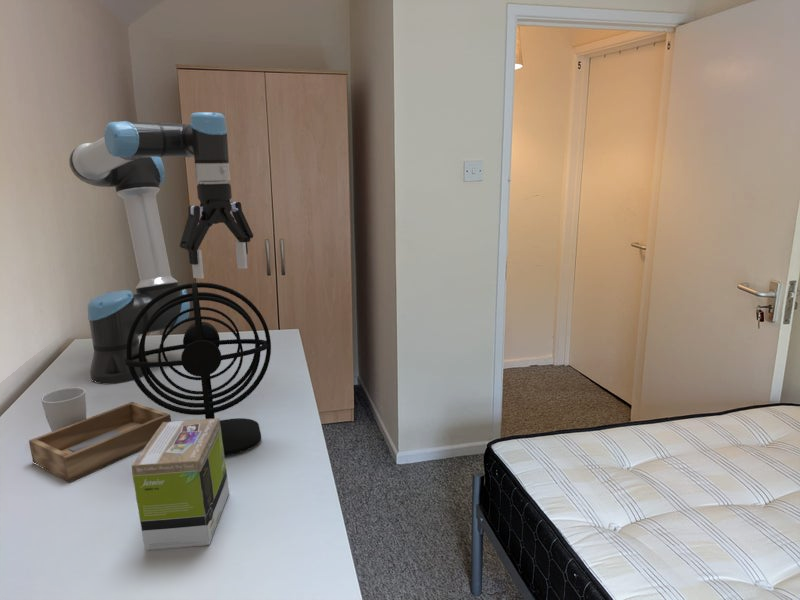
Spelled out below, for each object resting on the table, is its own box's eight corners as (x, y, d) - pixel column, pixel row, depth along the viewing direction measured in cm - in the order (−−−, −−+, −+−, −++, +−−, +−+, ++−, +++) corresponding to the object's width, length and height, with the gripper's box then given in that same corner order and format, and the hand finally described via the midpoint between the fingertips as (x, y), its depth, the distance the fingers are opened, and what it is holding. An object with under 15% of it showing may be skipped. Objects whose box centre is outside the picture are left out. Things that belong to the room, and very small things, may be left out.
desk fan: (136, 478, 108) (110, 296, 100) (144, 438, 124) (123, 279, 116) (282, 452, 116) (268, 282, 108) (272, 418, 132) (259, 268, 124)
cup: (99, 429, 129) (93, 387, 126) (76, 447, 121) (68, 402, 118) (65, 429, 129) (58, 387, 127) (40, 446, 122) (32, 402, 119)
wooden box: (33, 463, 114) (28, 440, 113) (135, 422, 132) (132, 401, 131) (70, 482, 107) (66, 458, 106) (173, 435, 125) (170, 414, 123)
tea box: (172, 497, 101) (162, 419, 98) (230, 493, 102) (222, 415, 98) (142, 552, 86) (129, 463, 83) (210, 547, 87) (200, 458, 84)
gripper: (179, 185, 120) (189, 284, 126) (264, 180, 141) (269, 265, 146) (156, 184, 124) (167, 280, 129) (242, 180, 145) (248, 263, 150)
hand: (221, 273), depth 138 cm, fingers open, 13 cm apart
